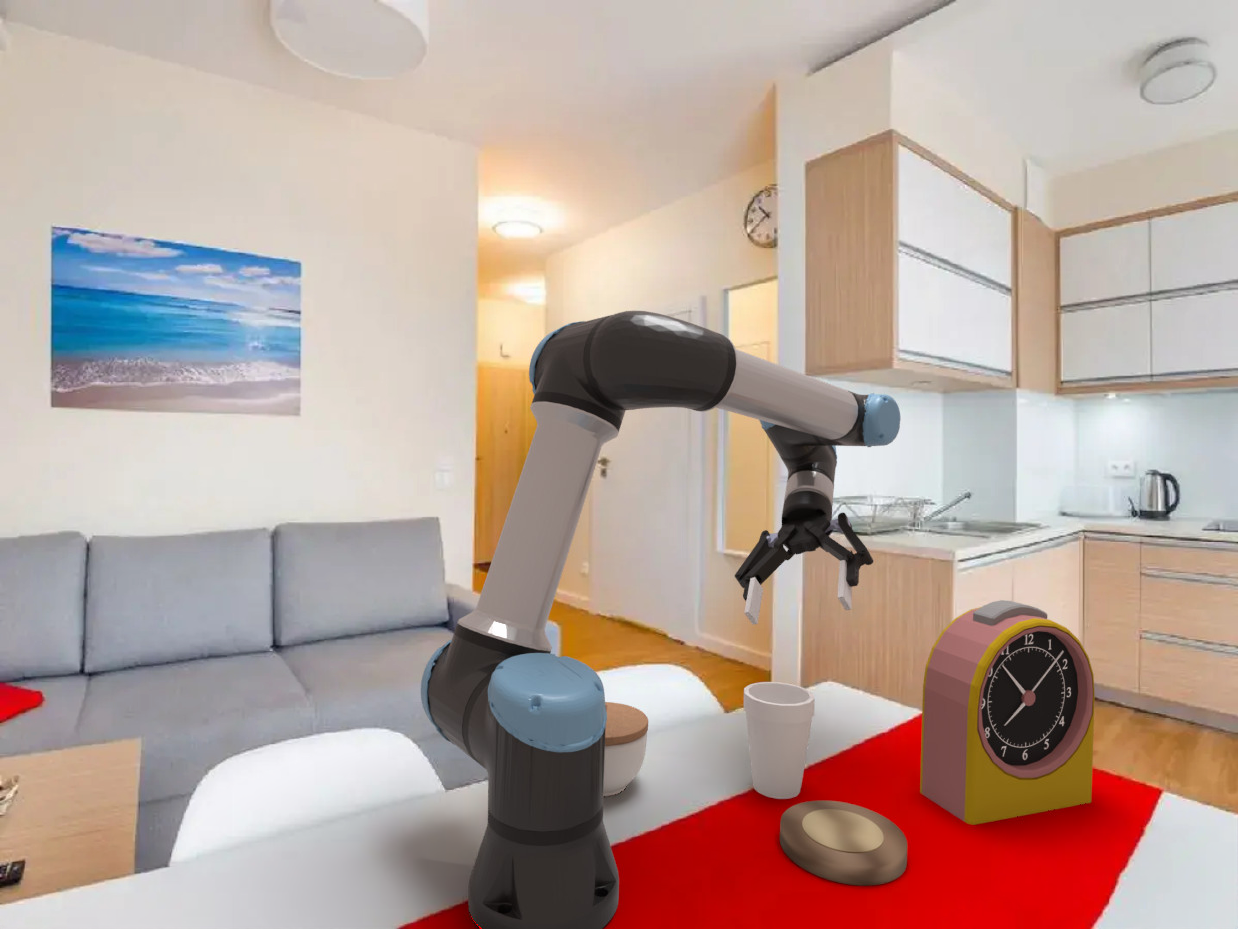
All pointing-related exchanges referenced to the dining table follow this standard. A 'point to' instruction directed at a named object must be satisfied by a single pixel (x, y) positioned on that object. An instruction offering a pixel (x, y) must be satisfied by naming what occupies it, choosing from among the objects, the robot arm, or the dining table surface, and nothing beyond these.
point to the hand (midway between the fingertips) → (795, 611)
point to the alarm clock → (1007, 715)
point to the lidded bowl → (623, 746)
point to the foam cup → (778, 736)
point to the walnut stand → (843, 842)
